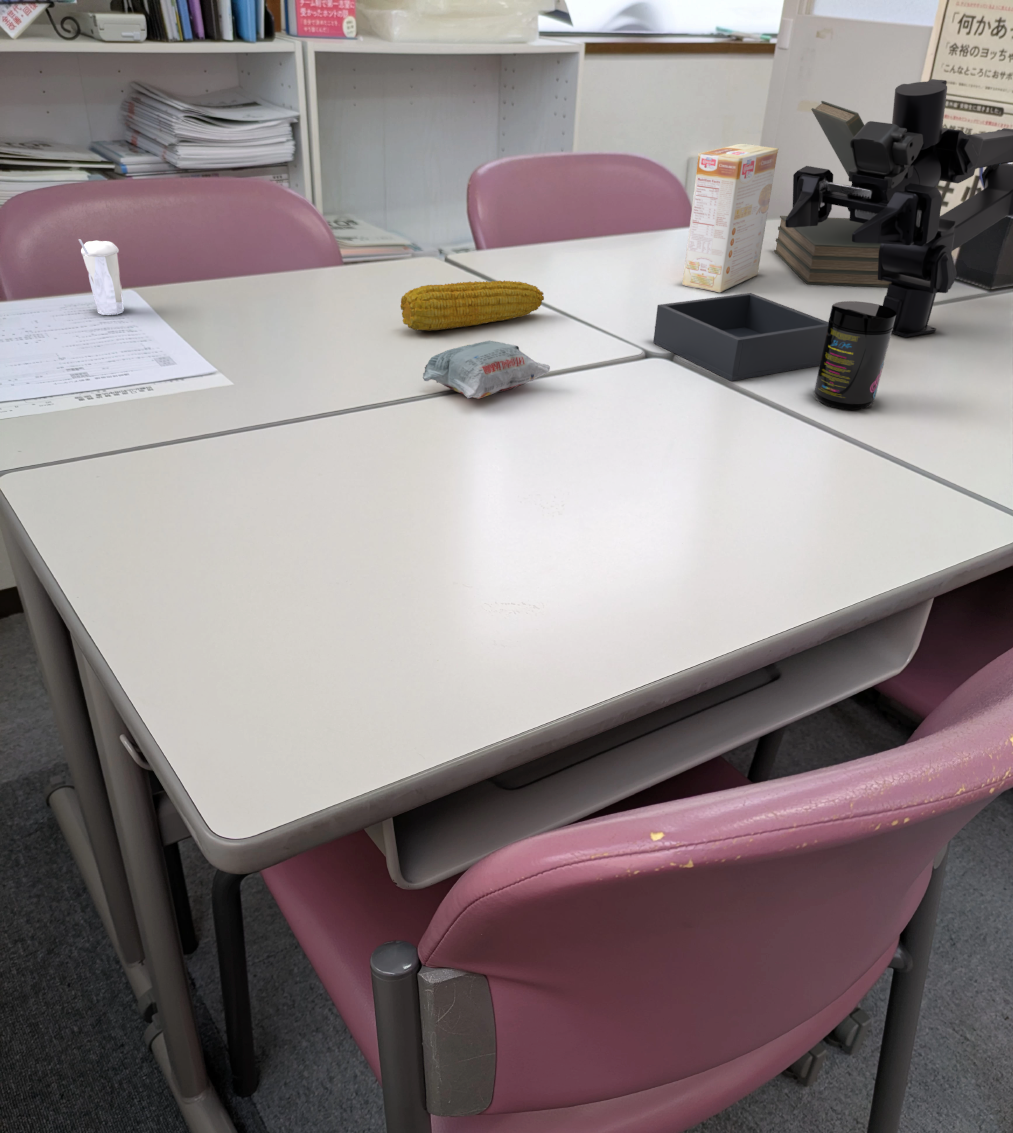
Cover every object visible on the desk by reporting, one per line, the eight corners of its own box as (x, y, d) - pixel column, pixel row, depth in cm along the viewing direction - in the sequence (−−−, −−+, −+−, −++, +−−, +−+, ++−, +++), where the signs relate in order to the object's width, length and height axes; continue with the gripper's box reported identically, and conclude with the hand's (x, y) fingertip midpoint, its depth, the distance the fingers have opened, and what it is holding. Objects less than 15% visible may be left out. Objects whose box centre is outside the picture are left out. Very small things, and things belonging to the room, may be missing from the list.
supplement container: (867, 416, 104) (890, 322, 98) (806, 403, 106) (825, 311, 101) (878, 397, 109) (901, 307, 103) (819, 386, 111) (838, 297, 106)
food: (416, 340, 121) (415, 294, 118) (396, 328, 125) (394, 283, 122) (550, 318, 131) (552, 275, 128) (527, 308, 135) (529, 265, 132)
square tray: (744, 328, 130) (750, 292, 127) (827, 364, 118) (835, 324, 116) (652, 342, 123) (657, 304, 121) (731, 381, 112) (738, 340, 109)
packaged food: (548, 389, 107) (550, 347, 105) (468, 414, 100) (468, 369, 98) (498, 369, 113) (498, 329, 110) (418, 391, 106) (417, 348, 103)
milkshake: (80, 315, 125) (65, 237, 120) (109, 305, 129) (95, 229, 124) (108, 320, 123) (93, 241, 118) (136, 309, 128) (123, 233, 123)
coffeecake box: (719, 267, 160) (738, 142, 149) (759, 275, 156) (781, 147, 146) (679, 285, 149) (696, 151, 139) (721, 293, 146) (741, 156, 135)
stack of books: (927, 288, 152) (972, 118, 139) (806, 284, 152) (839, 113, 139) (880, 255, 172) (916, 103, 159) (773, 251, 172) (800, 98, 159)
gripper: (836, 106, 117) (754, 148, 111) (980, 122, 105) (897, 171, 99) (832, 195, 124) (754, 240, 118) (966, 221, 112) (888, 272, 106)
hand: (819, 230), depth 110 cm, fingers open, 9 cm apart
